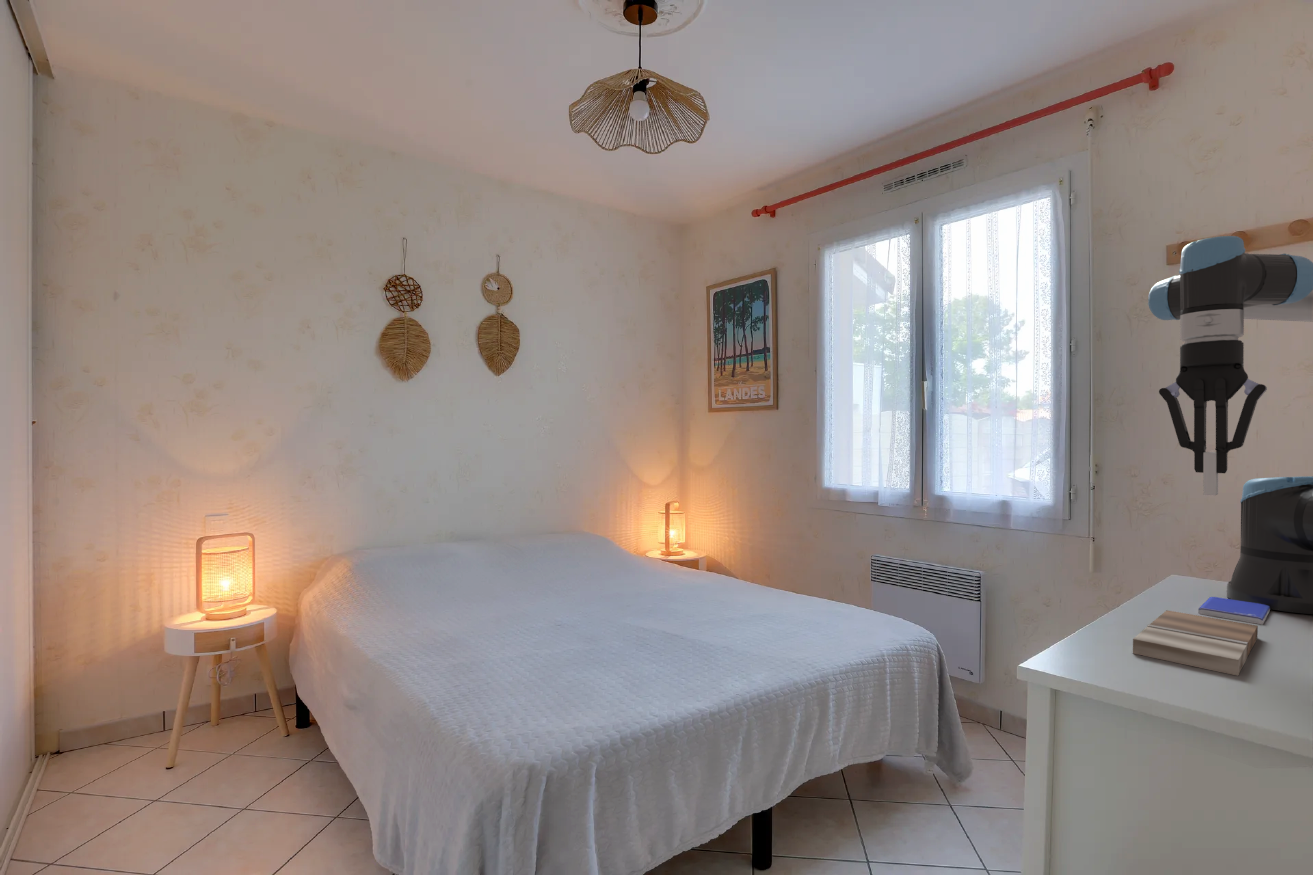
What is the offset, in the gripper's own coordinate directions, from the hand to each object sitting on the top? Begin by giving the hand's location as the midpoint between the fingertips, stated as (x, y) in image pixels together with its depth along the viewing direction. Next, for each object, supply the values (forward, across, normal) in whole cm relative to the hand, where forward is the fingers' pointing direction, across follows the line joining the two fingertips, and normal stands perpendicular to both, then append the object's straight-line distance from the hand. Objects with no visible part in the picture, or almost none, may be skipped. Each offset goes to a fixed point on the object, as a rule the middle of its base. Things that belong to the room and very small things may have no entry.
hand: (1210, 494), depth 103 cm
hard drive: (+22, +1, +18) cm, 29 cm away
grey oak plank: (+21, 0, -17) cm, 27 cm away
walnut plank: (+21, 0, -6) cm, 22 cm away
